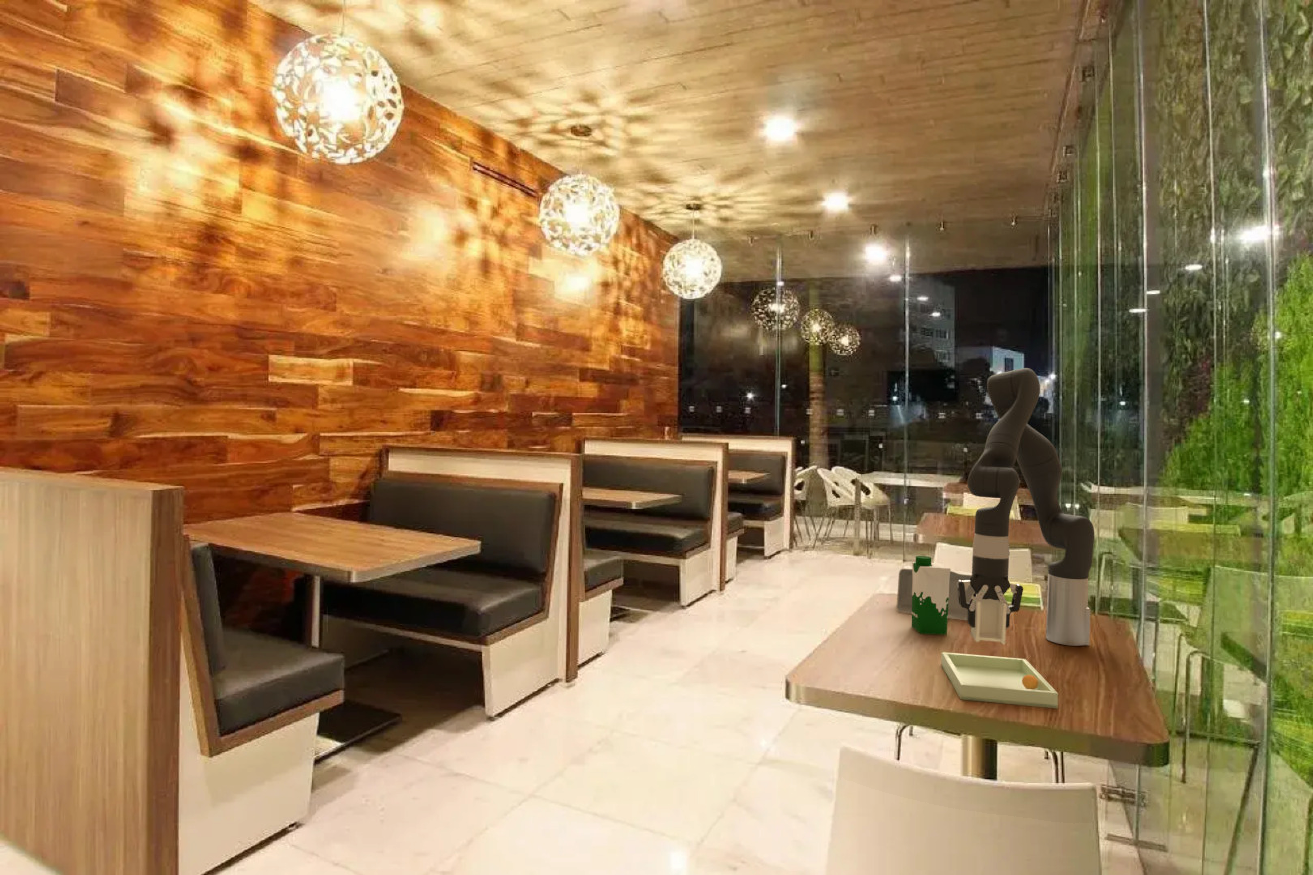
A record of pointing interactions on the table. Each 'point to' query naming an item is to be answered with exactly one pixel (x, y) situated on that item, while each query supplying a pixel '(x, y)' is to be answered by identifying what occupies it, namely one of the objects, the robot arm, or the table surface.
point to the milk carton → (930, 596)
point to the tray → (996, 680)
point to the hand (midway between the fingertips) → (987, 627)
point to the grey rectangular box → (953, 606)
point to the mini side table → (989, 621)
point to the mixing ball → (1030, 682)
